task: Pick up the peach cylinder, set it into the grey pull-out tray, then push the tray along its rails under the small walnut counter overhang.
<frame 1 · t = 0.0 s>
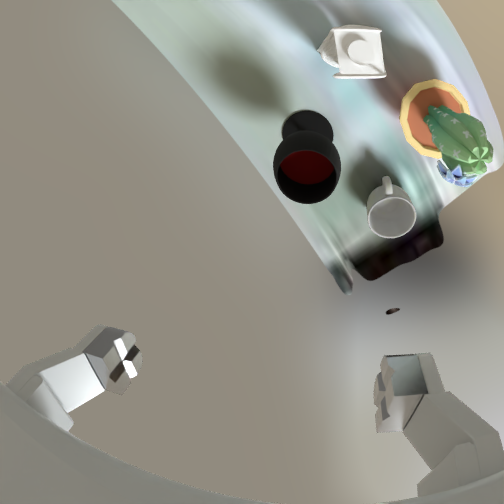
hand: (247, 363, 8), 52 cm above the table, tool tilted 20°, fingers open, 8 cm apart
wine glass: (308, 134, 52), on the table
teacup: (385, 192, 57), on the table
skyscraper: (338, 50, 40), on the table
potted cactus: (422, 109, 42), on the table
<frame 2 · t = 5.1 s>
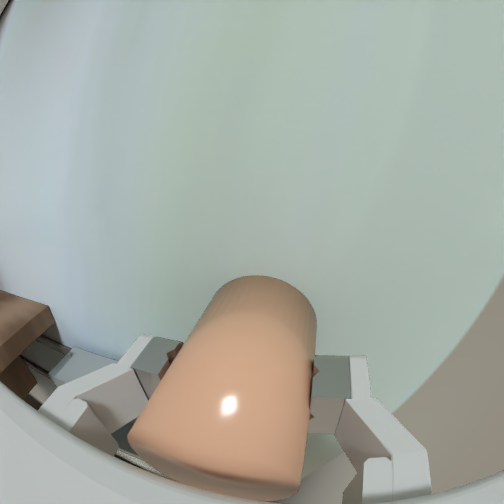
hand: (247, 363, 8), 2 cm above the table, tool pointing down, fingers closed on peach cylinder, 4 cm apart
tray: (154, 440, 12), point 3 cm above the table, slide at 9.5 cm
peach cylinder: (261, 324, 10), on the table, touching gripper
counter: (36, 353, 17), on the table
when the fingers open (5 cm above the table, at t = 9.4 s): peach cylinder drops 2 cm, resting on tray.
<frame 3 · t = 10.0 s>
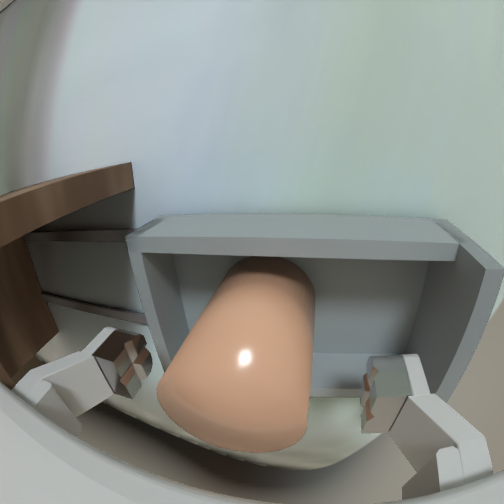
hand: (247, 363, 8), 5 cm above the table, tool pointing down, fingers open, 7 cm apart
tray: (297, 326, 10), point 3 cm above the table, slide at 9.4 cm, touching peach cylinder
peach cylinder: (267, 298, 12), point 1 cm above the table, touching tray
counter: (72, 272, 15), on the table
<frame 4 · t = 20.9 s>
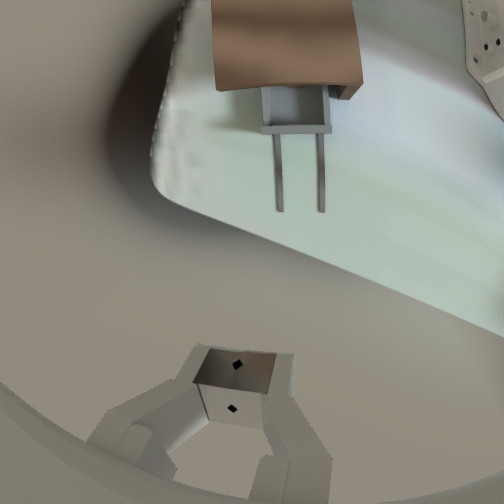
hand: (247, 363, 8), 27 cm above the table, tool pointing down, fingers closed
tray: (294, 80, 25), point 3 cm above the table, slide at 0.2 cm, touching peach cylinder
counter: (292, 49, 26), on the table
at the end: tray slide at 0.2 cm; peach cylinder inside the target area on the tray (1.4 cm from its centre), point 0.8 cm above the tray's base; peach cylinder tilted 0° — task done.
